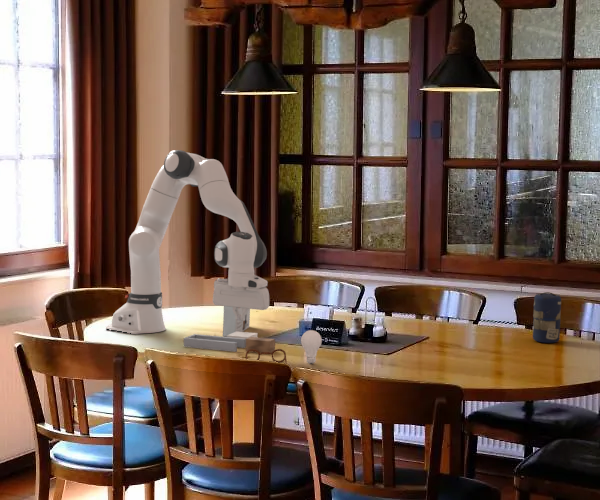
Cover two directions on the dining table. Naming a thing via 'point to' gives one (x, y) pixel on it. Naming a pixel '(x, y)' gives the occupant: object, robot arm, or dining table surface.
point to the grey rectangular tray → (214, 342)
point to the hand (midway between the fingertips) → (240, 320)
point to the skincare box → (234, 321)
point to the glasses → (268, 353)
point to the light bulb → (311, 344)
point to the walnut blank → (260, 344)
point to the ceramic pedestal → (242, 335)
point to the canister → (546, 317)
